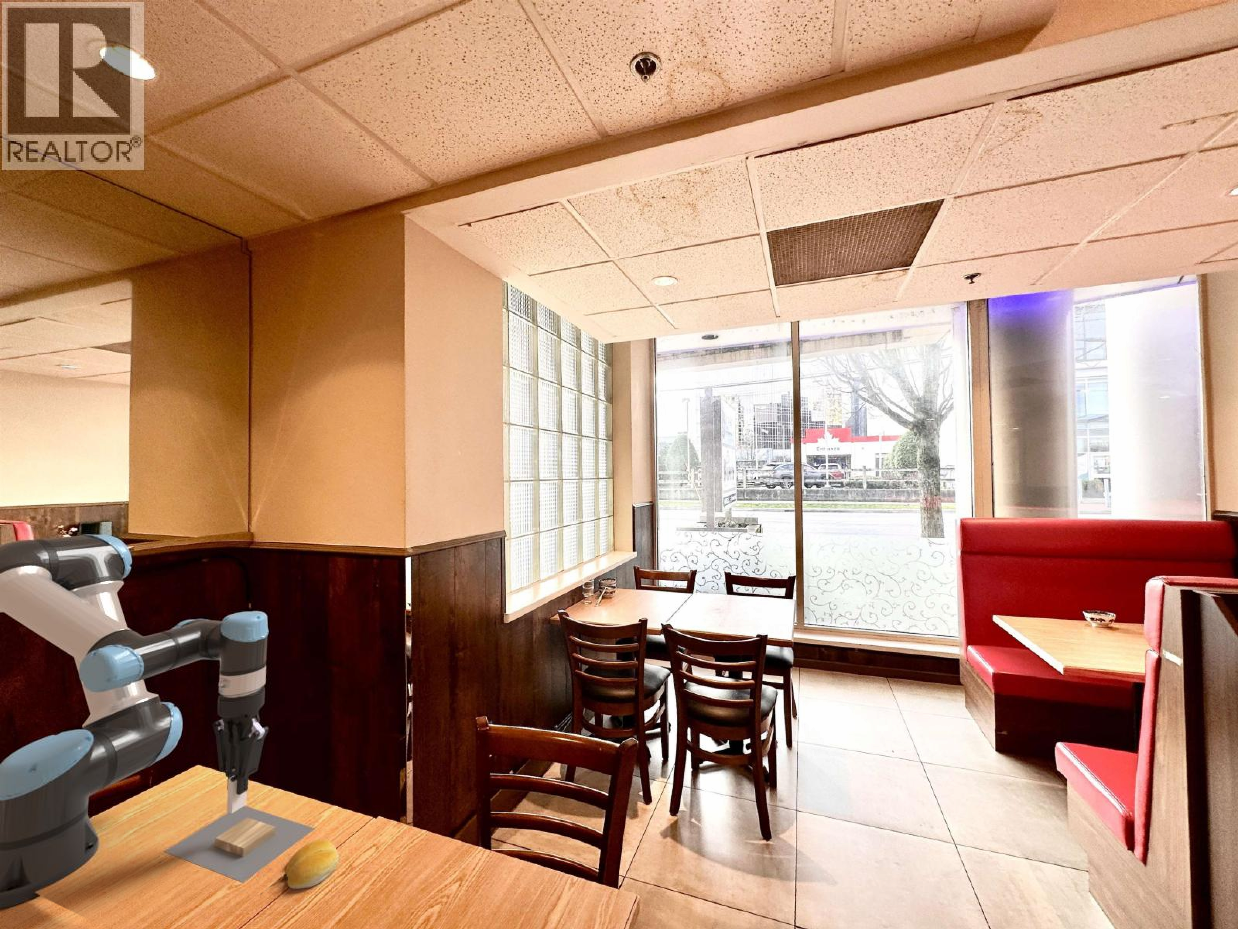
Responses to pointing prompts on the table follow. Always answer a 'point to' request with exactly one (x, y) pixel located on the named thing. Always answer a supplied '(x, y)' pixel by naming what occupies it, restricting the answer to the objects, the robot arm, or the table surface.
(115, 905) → the table surface
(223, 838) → the light wood flat block
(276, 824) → the slate board
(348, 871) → the table surface
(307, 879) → the bread roll
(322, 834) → the table surface
